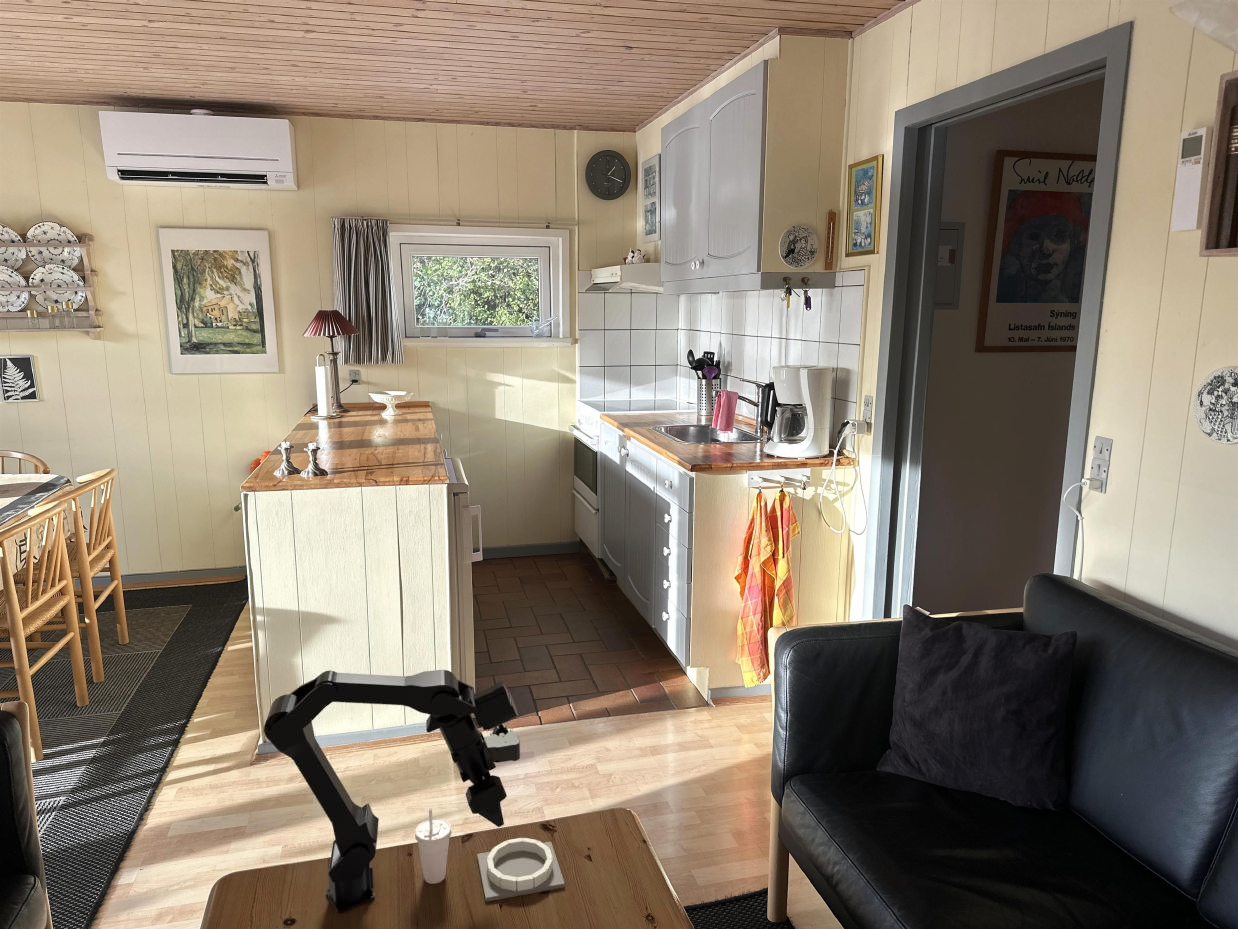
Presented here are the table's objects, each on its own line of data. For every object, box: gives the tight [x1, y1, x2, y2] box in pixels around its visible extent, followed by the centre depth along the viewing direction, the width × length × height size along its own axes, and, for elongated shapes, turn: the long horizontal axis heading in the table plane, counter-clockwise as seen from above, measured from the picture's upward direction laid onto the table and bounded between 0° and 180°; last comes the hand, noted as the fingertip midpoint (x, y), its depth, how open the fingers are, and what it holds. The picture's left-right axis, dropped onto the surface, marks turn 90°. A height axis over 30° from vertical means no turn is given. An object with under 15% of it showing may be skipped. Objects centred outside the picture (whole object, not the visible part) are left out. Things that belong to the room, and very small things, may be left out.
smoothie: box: [414, 807, 453, 884], centre depth 153 cm, size 6×6×14 cm
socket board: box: [476, 837, 566, 902], centre depth 156 cm, size 14×12×3 cm
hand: (496, 810), depth 153 cm, fingers open, 9 cm apart
